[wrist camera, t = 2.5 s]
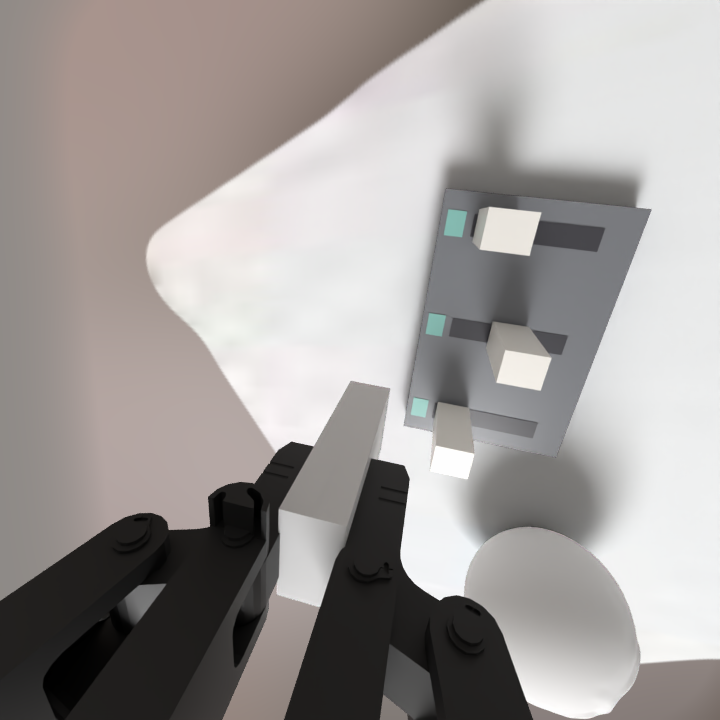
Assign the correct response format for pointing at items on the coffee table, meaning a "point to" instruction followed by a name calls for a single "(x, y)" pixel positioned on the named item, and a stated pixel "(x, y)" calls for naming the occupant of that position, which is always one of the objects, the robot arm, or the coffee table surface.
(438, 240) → the board
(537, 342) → the breaker
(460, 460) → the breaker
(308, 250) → the coffee table surface
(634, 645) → the decorative ball
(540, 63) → the coffee table surface
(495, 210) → the breaker
